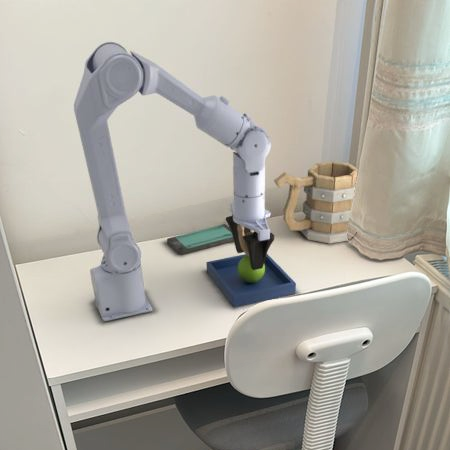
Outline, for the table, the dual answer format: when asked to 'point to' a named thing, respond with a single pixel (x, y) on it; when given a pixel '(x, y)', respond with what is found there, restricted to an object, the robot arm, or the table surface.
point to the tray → (249, 292)
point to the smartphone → (201, 239)
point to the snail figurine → (247, 261)
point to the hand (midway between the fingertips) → (249, 259)
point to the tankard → (321, 201)
